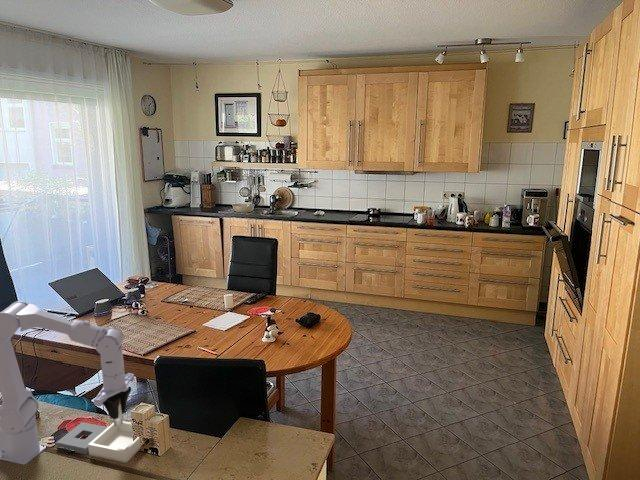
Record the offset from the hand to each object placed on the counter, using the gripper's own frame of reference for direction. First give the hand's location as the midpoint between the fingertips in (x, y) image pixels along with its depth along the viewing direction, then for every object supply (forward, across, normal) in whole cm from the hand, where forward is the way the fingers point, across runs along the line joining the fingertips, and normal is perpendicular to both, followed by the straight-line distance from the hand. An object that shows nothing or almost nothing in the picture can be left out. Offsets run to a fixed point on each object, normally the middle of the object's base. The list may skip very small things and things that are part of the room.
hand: (117, 414), depth 133 cm
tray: (+10, 0, 0) cm, 10 cm away
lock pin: (+3, 0, 0) cm, 3 cm away
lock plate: (+10, -1, +12) cm, 15 cm away
